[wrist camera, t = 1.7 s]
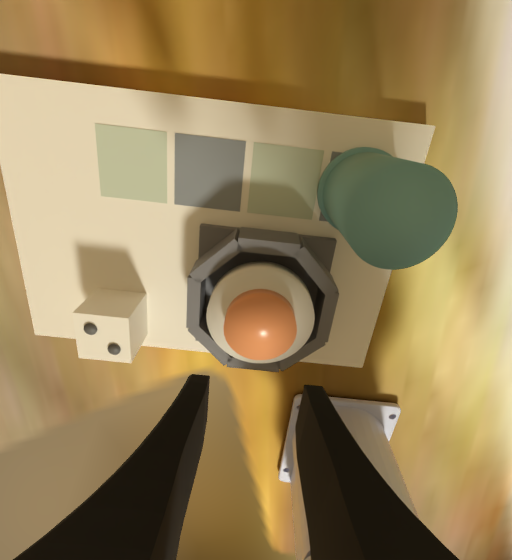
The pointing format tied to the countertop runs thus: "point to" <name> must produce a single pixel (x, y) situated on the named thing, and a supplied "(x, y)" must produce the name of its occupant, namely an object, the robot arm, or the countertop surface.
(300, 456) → the robot arm
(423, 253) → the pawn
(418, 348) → the countertop surface
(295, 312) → the dome button
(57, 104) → the game board
